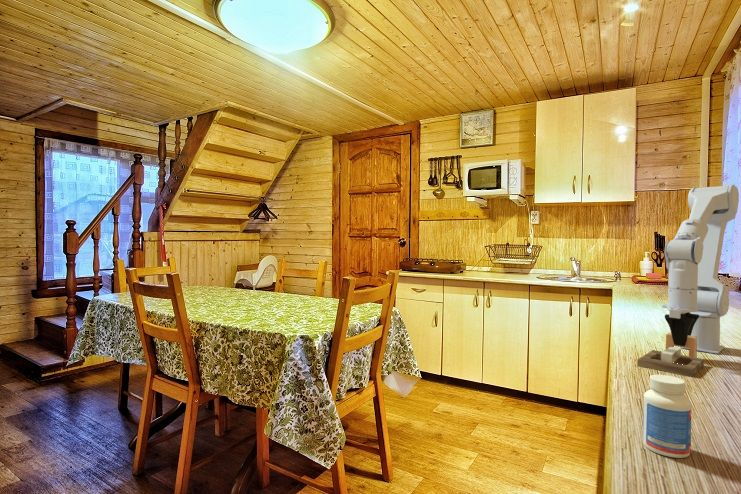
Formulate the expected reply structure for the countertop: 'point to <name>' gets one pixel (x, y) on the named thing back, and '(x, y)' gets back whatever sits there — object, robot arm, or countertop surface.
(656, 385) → the pill bottle
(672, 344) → the orange block
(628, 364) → the countertop surface
